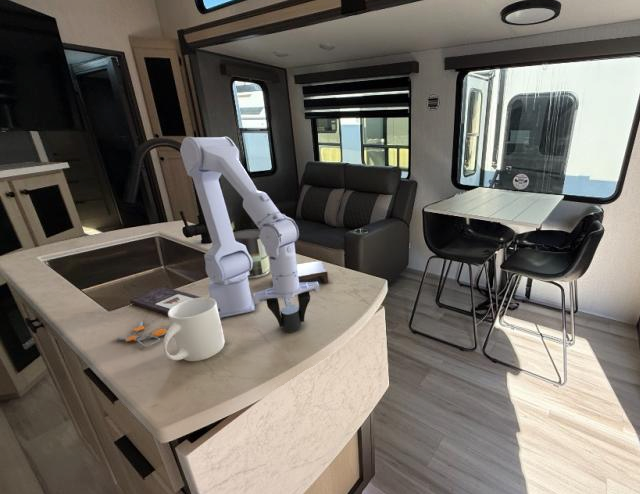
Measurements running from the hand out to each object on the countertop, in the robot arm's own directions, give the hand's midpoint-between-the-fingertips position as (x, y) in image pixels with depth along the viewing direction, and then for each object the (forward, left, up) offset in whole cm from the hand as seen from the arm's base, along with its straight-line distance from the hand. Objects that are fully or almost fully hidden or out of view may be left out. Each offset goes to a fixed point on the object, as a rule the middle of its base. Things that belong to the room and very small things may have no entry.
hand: (291, 322), depth 78 cm
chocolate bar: (-30, +28, -1) cm, 41 cm away
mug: (-20, -2, -2) cm, 20 cm away
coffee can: (-7, +40, -2) cm, 41 cm away
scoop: (0, +3, -1) cm, 3 cm away
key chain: (-32, +11, -1) cm, 34 cm away
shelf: (+6, +26, -1) cm, 27 cm away
